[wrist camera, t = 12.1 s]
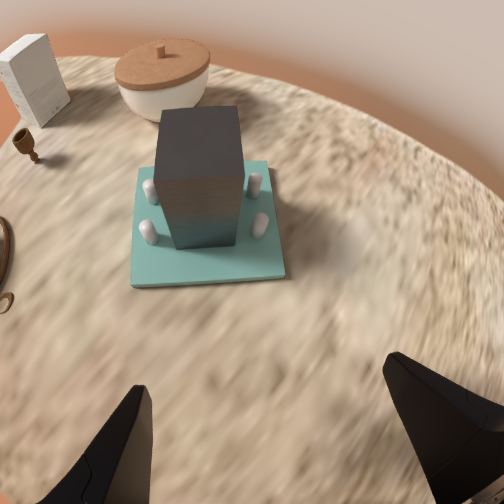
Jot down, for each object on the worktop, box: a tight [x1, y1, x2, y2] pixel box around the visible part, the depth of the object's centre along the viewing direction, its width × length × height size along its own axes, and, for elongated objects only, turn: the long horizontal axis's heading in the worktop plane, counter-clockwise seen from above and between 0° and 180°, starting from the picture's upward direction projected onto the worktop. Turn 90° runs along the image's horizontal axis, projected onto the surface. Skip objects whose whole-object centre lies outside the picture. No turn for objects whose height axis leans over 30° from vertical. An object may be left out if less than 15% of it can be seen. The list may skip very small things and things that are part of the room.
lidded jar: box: [114, 39, 210, 123], centre depth 27 cm, size 11×11×9 cm
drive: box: [153, 106, 245, 250], centre depth 20 cm, size 6×5×10 cm
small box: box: [0, 34, 71, 128], centre depth 24 cm, size 8×6×13 cm
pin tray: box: [130, 161, 285, 288], centre depth 24 cm, size 12×13×4 cm
